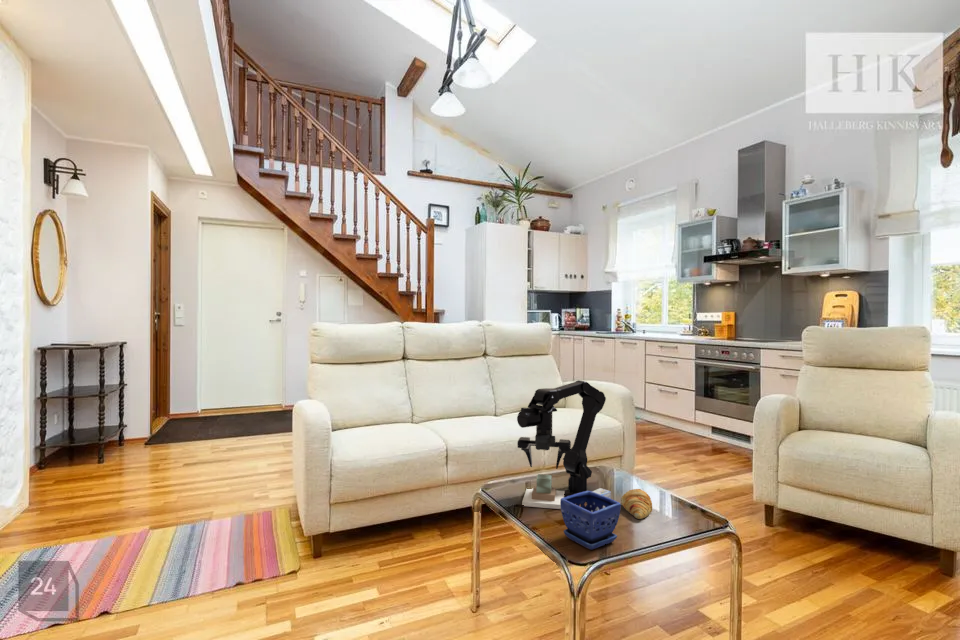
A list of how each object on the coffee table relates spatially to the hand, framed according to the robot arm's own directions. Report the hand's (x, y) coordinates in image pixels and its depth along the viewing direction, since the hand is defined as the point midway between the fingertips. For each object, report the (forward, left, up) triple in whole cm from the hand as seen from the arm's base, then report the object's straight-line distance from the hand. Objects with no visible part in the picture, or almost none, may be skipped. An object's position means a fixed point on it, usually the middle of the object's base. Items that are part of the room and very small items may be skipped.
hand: (543, 467), depth 177 cm
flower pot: (-16, +29, -12) cm, 35 cm away
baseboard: (0, 0, -12) cm, 12 cm away
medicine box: (-19, +12, -12) cm, 26 cm away
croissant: (-32, +1, -12) cm, 34 cm away
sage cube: (0, 0, -8) cm, 8 cm away
